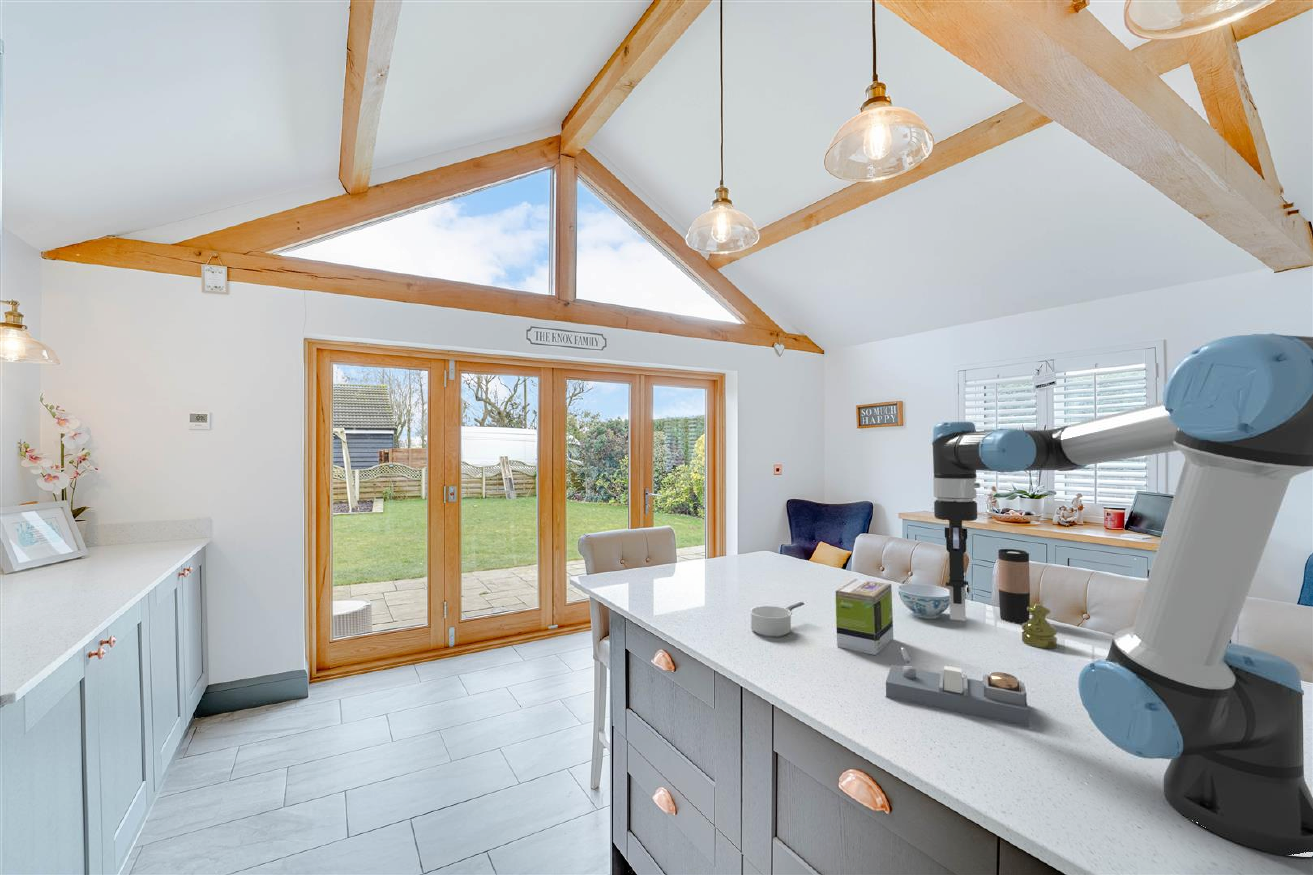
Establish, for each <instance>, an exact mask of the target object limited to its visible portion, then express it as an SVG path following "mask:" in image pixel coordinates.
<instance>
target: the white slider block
mask: <svg viewBox="0 0 1313 875" xmlns="http://www.w3.org/2000/svg"><path fill="white" fill-rule="evenodd" d="M943 671H944V690H947V691H952V692H957V693H962V677H963V669H962V668H959V667H955V666H948V665H944V668H943Z"/></svg>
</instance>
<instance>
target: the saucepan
mask: <svg viewBox="0 0 1313 875" xmlns="http://www.w3.org/2000/svg"><path fill="white" fill-rule="evenodd" d="M804 605H805V602H802V601H800V602H798V603H794V604H792V605H789V606H787V607H782V606H778V605H758V606H754V607H751V608H750V609H749V613H750V618H751V619H750V626H751V627H750V628H751V630H752V631H754V632H755V633H757V634H758V635H761V636H764V637H773V638H774V637H775V638H776V637H783V636H785V635H786V634H788V633H790V632H791V631H792V628H791V627H792V626H791V624H792V622H791V621H792V620H791V619H792V617H791V616H792V615H793V610H794V609H796V608H799V607H802V606H804Z"/></svg>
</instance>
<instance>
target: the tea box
mask: <svg viewBox="0 0 1313 875" xmlns="http://www.w3.org/2000/svg"><path fill="white" fill-rule="evenodd" d="M892 593H893V592H892V583H889V582H888V583H887V582H879V581H871V580H863V579H857V578H855V579H853V580H851V581H850V582H848V583H846V584H844V585H842V586H841V587H840V588H838V589H836V590H835V616H836V617H835V619H836V621H835V623H836V624H835V625H836V627H835V628H836V646H837V647H838V648H841V649H844V650H850V651H853V652H858V653H862V654H867V655H872V656H877V654H878V653H879V652H881V651H882V650H883V649H884V648H885V647H886V646H887V645H888V644H889V643H890V642H891V641H892V640H893V639H894V620H893V619H894V617H893V614H894V613H893V596H892V595H893V594H892Z"/></svg>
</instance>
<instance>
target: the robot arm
mask: <svg viewBox="0 0 1313 875" xmlns="http://www.w3.org/2000/svg"><path fill="white" fill-rule="evenodd" d="M931 445H932V460H933V462H932V464H933V466H932V467H933V469H932V470H933V477H932V480H933V497H934V498H936V499H935V500H934V501H933V506H934V507H933V511H934V512H933V513H934V518H936V519H937V520H941V521H948V523H949V525H948V527H947V526H946V527H944V538H945V539H946V540H945V542H946V543H945V545H946V547H945V548H946V551H947V552H948V555H949V556H948V558H949V561H948V562H949V563H948V564H949V574H948V575H949V578H948V581H945V586H946V587H949V588H948V589H949V595H950V605H949V619H950V620H956V621H965V622H966V620H967V619H966V615H967V614H966V613H967V612H966V586H969V581H967V580H965V571H964V570H965V567H964V566H965V565H964V564H965V562H964V560H965V559H964V558H965V557H964V555H965V553H967V539H968V528H964V527H963V522H972V521H976V520H977V519H978V503H977V502H976V501H975V500H974V499H976V498H977V489H979V488H981V484H980V483H979V482H977V471H985V472H997V473H1001V474H1002V473H1015V472H1016V473H1017V472H1025V471H1026V472H1029V471H1058V472H1066V471H1067V472H1068V471H1074V470H1075V471H1076V470H1081V469H1084V468H1086V467H1087V466H1089V465H1095V464H1101V463H1107V462H1108V463H1110V462H1115V461H1121V460H1122V461H1123V460H1126V459H1133V458H1139V457H1145V456H1152V455H1158V454H1165V453H1171V452H1177V451H1178V452H1179V451H1180V453H1181V454H1182V455H1183V457H1184V459H1185V460H1184V463H1183V466H1182V469H1181V472H1180V476H1179V478H1178V483H1177V485H1176V489H1175V492H1174V495H1173V497H1172V498H1173V499H1172V502H1171V505H1170V508H1169V512H1168V514H1167V518H1166V520H1165V524H1164V527H1163V530H1162V534H1161V537H1160V539H1159V542H1158V546H1157V549H1156V553H1155V555H1154V559H1153V561H1152V565H1151V569H1150V571H1149V574H1148V577H1147V580H1146V584H1145V587H1144V590H1143V593H1142V597H1141V600H1140V604H1139V606H1138V608H1137V612H1136V616H1135V619H1134V622H1133V625H1132V626H1131V627H1130V626H1129V627H1127V628H1122V629H1120V630H1119V629H1118V630H1117V631H1116V632H1115V633H1114V635H1113V638H1112V640H1111V644H1110V647H1109V650H1108V653H1107V655H1106V656H1107V657H1106V659H1097V660H1093V661H1092V662H1090V663H1088V664H1087V665H1085V666H1084V667H1083V668H1082V669H1081V671H1080V673H1079V676H1078V693H1079V697H1080V699H1081V703H1082V705H1083V706H1082V707H1084V709H1085V710H1086V711H1087V713H1088V716H1089V718H1090V720H1091V721H1092V723H1093V725H1094V726H1095V727H1096V728H1097V730H1099V732H1100V733H1101V735H1103V736H1104V738H1106V739H1107V740H1109V741H1110V742H1111V743H1112V744H1113V745H1115V746H1116V747H1117V748H1118V749H1121V750H1122V751H1124V752H1126V753H1127V754H1130V755H1132V756H1133V757H1138V758H1141V759H1148V760H1149V759H1150V760H1151V759H1164V760H1170V762H1169V764H1168V766H1167V769H1166V770H1165V772H1164V775H1163V782H1162V783H1163V795H1164V797H1165V800H1166V801H1167V802H1168V803H1169V805H1170V806H1171V807H1172V808H1173V809H1175V811H1177V812H1178V813H1179V814H1181V815H1182V816H1183V815H1184V817H1185V818H1186V817H1188V818H1189V819H1191V820H1193V821H1194V822H1198V824H1200V825H1202V826H1204V827H1206V828H1207V829H1208V830H1207V829H1206V830H1207V831H1209V830H1211V831H1212V832H1211V831H1210V832H1211V833H1214V834H1216V835H1218V836H1220V837H1222V838H1225V839H1227V840H1229V841H1231V842H1235V843H1237V844H1239V843H1240V845H1243V846H1246V847H1248V848H1252V849H1255V850H1259V851H1262V852H1266V853H1270V854H1274V855H1279V856H1283V855H1292V854H1293V855H1294V854H1300V853H1304V852H1305V853H1306V852H1313V796H1312V793H1311V790H1310V789H1309V787H1308V784H1307V782H1306V780H1305V779H1306V778H1305V773H1304V772H1305V770H1304V769H1305V768H1304V765H1305V764H1304V761H1305V760H1304V758H1305V757H1304V755H1305V754H1304V707H1303V706H1304V705H1303V704H1304V703H1303V699H1304V697H1303V696H1304V695H1305V691H1304V689H1302V680H1301V673H1300V670H1299V669H1298V667H1297V666H1296V665H1295V664H1294V663H1292V662H1291V661H1289V660H1287V659H1285V658H1283V657H1281V656H1278V655H1275V654H1273V653H1269V652H1266V651H1264V650H1260V649H1256V648H1253V647H1248V646H1246V645H1245V646H1244V645H1241V644H1236V643H1232V642H1231V639H1232V637H1233V634H1234V631H1235V628H1236V626H1237V624H1238V621H1239V618H1240V616H1241V613H1242V610H1243V608H1244V604H1245V602H1246V600H1247V597H1248V593H1249V591H1250V588H1251V586H1252V583H1253V580H1254V578H1255V575H1256V572H1257V570H1258V568H1259V564H1260V562H1261V560H1262V556H1263V554H1264V551H1265V548H1266V546H1267V543H1268V540H1269V538H1270V535H1271V532H1272V529H1273V527H1274V525H1275V522H1276V520H1277V519H1276V518H1277V516H1278V514H1279V511H1280V509H1281V506H1282V503H1283V500H1284V498H1285V495H1286V492H1287V489H1288V486H1289V484H1290V481H1291V480H1292V478H1294V477H1295V476H1298V475H1301V474H1303V473H1306V472H1309V471H1311V470H1313V336H1307V335H1306V336H1305V335H1303V336H1302V335H1287V334H1285V335H1284V334H1277V333H1273V332H1272V333H1265V334H1264V333H1252V334H1241V335H1233V336H1232V335H1231V336H1226V337H1222V338H1217V339H1216V340H1212V341H1210V342H1208V343H1205V344H1203V345H1200V346H1199V347H1198V348H1197V349H1195V350H1192V351H1191V352H1189V353H1187V355H1186V356H1184V357H1183V358H1182V359H1181V360H1180V361H1178V363H1177V364H1176V365H1175V366H1174V368H1173V369H1172V371H1171V372H1170V374H1169V375H1168V377H1167V379H1166V381H1165V384H1164V388H1163V392H1162V401H1161V402H1158V403H1154V404H1153V403H1152V404H1149V405H1145V406H1142V407H1141V406H1140V407H1137V408H1133V409H1130V410H1126V411H1125V410H1124V411H1122V412H1117V413H1114V414H1108V415H1105V416H1101V417H1096V418H1094V419H1089V420H1085V421H1080V422H1077V423H1073V424H1070V425H1065V426H1061V427H1057V428H1053V429H1026V430H1025V429H1015V428H1014V429H1013V428H998V429H991V430H990V429H989V430H979V431H978V430H977V431H976V424H975V423H974V422H972V421H947V422H946V421H942V422H938V423H935V425H934V426H933V431H932V442H931ZM1188 818H1187V819H1188ZM1189 819H1188V820H1189ZM1191 820H1190V821H1191ZM1193 821H1192V822H1193ZM1194 822H1193V823H1194ZM1198 824H1197V825H1198Z"/></svg>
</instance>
